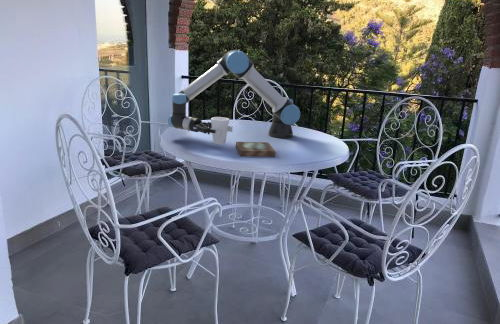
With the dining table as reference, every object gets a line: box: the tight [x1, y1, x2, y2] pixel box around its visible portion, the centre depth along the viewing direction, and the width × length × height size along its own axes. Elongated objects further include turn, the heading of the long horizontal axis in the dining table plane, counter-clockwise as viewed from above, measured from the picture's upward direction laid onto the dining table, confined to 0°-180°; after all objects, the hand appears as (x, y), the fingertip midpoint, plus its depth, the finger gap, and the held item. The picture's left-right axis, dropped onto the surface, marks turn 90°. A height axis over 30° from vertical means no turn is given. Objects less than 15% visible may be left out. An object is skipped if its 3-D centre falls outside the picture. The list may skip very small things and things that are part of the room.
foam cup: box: [210, 116, 230, 145], centre depth 217 cm, size 10×9×13 cm
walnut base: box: [235, 141, 276, 158], centre depth 215 cm, size 18×18×3 cm
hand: (226, 130), depth 214 cm, fingers closed on foam cup, 9 cm apart
